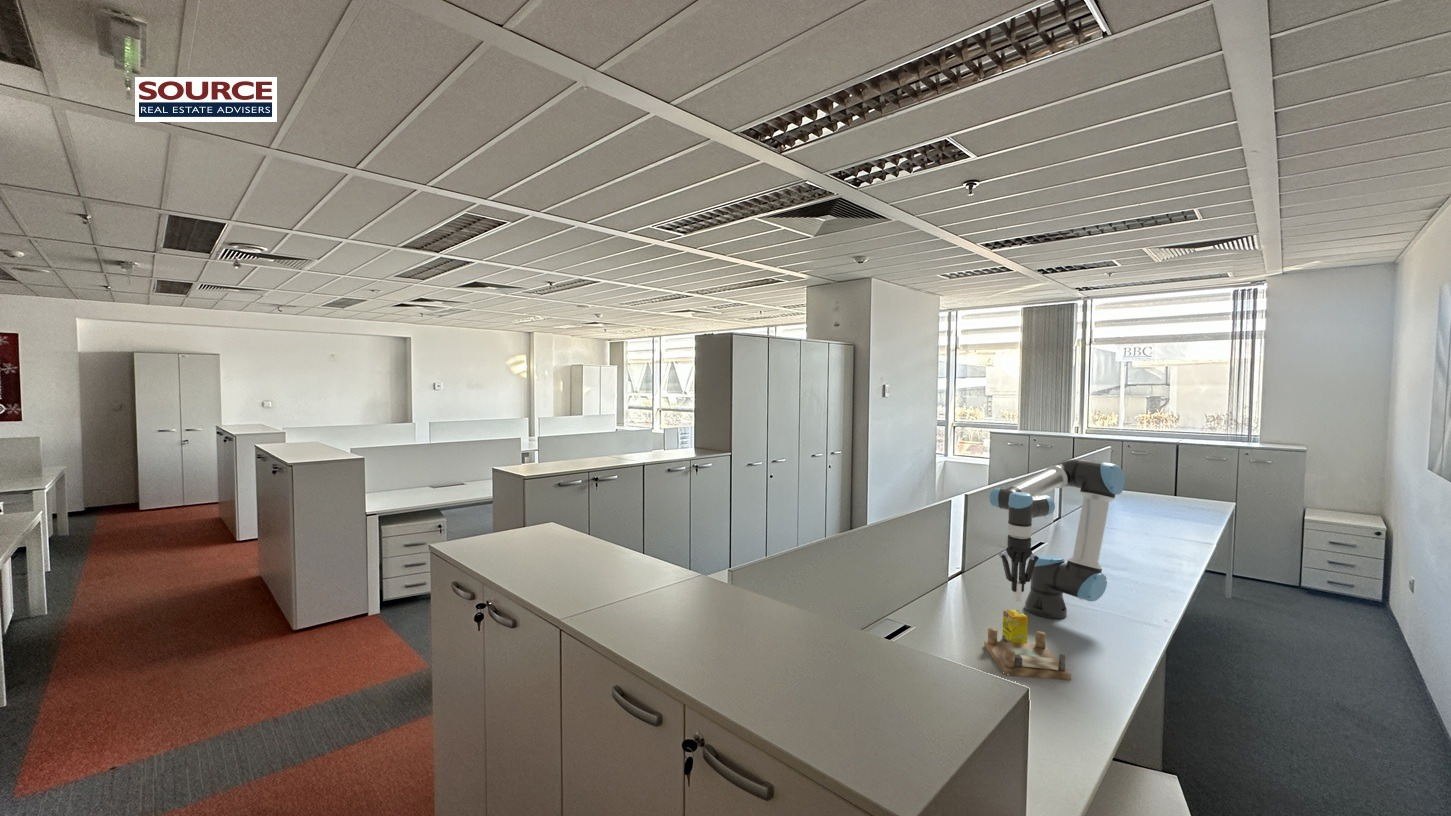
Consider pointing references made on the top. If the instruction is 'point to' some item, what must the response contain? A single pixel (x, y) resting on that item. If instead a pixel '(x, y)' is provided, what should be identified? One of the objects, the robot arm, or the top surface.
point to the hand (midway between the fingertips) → (1017, 600)
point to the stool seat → (1006, 655)
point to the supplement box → (1014, 626)
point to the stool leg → (1036, 662)
